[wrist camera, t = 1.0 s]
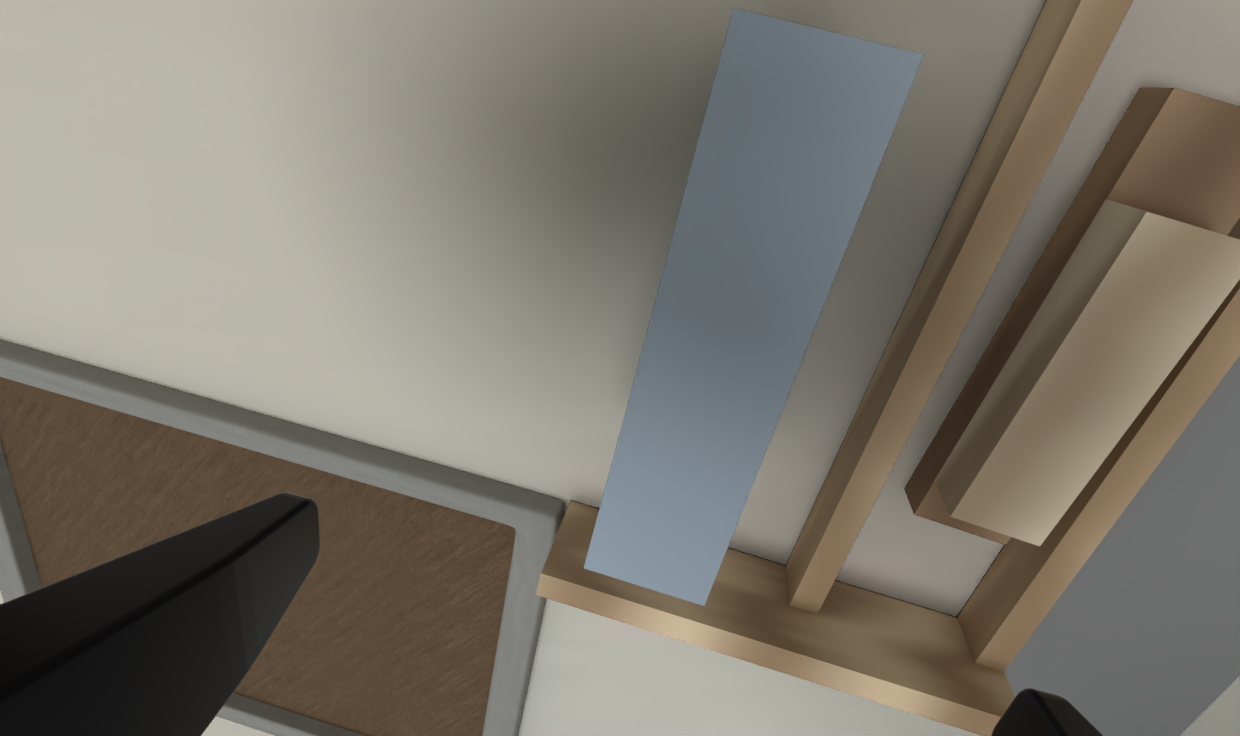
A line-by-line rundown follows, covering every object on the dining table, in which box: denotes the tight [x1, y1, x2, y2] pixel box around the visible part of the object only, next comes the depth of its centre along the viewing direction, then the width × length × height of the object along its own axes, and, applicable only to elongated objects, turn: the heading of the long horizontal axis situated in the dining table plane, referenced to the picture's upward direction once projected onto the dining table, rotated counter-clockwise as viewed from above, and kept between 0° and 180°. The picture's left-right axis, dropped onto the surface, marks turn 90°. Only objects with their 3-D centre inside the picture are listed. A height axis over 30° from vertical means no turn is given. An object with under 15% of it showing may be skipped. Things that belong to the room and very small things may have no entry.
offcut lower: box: [904, 88, 1240, 545], centre depth 18 cm, size 3×13×2 cm, turn 165°
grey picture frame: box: [0, 340, 565, 736], centre depth 29 cm, size 19×2×30 cm
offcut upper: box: [934, 199, 1240, 546], centre depth 17 cm, size 3×9×2 cm, turn 165°
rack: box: [536, 0, 1240, 736], centre depth 17 cm, size 16×23×4 cm
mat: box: [1004, 356, 1240, 736], centre depth 21 cm, size 7×17×1 cm, turn 167°
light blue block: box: [584, 8, 924, 606], centre depth 16 cm, size 3×12×8 cm, turn 167°
